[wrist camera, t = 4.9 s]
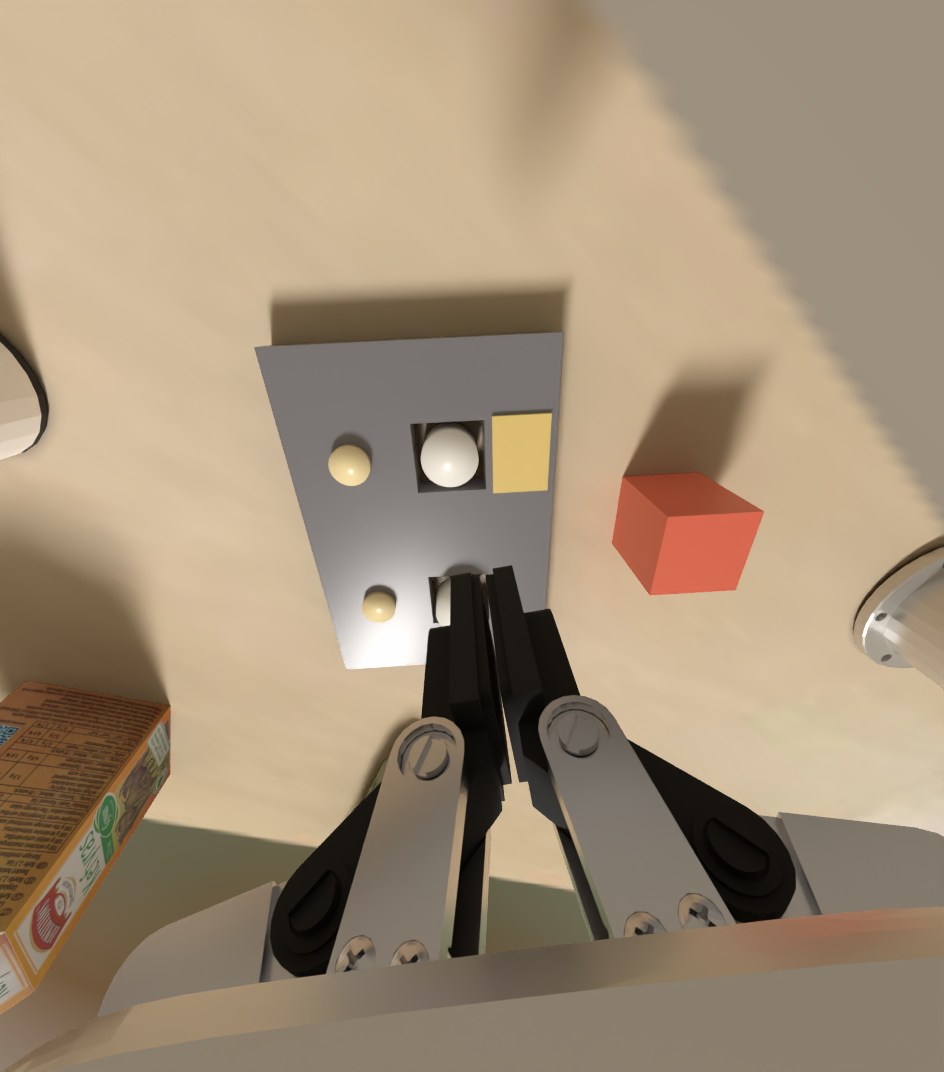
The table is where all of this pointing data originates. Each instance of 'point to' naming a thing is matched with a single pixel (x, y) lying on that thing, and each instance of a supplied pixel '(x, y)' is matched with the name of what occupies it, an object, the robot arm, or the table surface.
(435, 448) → the cream egg in tray
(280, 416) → the panel
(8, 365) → the mug
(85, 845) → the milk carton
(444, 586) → the white egg
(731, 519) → the cap
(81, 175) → the table surface
